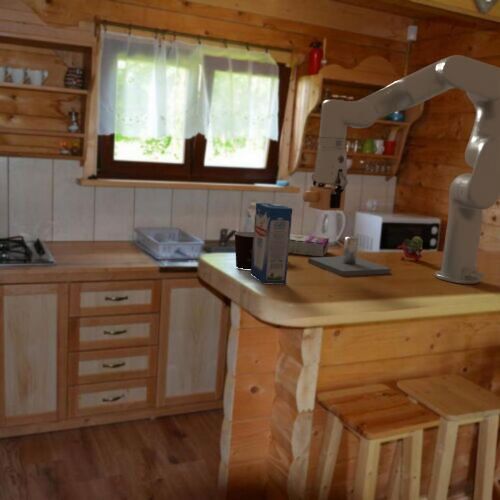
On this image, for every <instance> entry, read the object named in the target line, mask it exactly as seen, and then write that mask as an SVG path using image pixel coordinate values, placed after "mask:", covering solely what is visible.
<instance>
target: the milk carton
mask: <svg viewBox="0 0 500 500" xmlns="http://www.w3.org/2000/svg"><path fill="white" fill-rule="evenodd" d="M255 204H256V205H255V214H254V215H255V216H254V227H253V228H254V229H253V232H254V239H253V253H252V266H251V271H250V275H251V274H252V275H253V276H255V277H256V278H257V279H259V280H260V281H261V282H263V283H287V276H288V275H287V274H288V265H289V264H288V262H289V254H290V253H289V242H290V234H291V227H292V217H293V208H291V207H288V206H284V205H283V204H279V203H267V202H266V203H261V202H257V203H256V202H255ZM253 276H252V277H253ZM256 278H255V279H256ZM257 279H256V280H257ZM260 281H259V282H260ZM261 282H260V283H261ZM263 283H262V284H263Z"/></svg>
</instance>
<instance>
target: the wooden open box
mask: <svg viewBox="0 0 500 500" xmlns="http://www.w3.org/2000/svg"><path fill="white" fill-rule="evenodd" d="M346 191H347V190H346V188H345V189H344V190H343V193H342V194H341V201H340V208H330V200H331V194H333V193H332V188H331V186H325V187H314V186H310V191H309V190H308V191H306V190H305V191H303V193H302V200H303V202H304V203H309V206H308V207H309V208H311V209H315V210H319V211H344V210H345V202H346V201H345V200H346Z"/></svg>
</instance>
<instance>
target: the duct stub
mask: <svg viewBox="0 0 500 500" xmlns="http://www.w3.org/2000/svg"><path fill="white" fill-rule="evenodd" d="M358 244H359V237H356V236H350V235H349V236H348V235H347V236H346V235H345V237H344V244H343V254H342V257H343V261H342V263H344V264H349V265H354V264H356V257H357V255H358V254H357V253H358Z"/></svg>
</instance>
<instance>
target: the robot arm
mask: <svg viewBox="0 0 500 500" xmlns="http://www.w3.org/2000/svg"><path fill="white" fill-rule="evenodd" d="M451 89H459V90H461V91H463V92H466V96H467V97H468V98H469V99H468V100H470V101H471V103H472V104H473V106H474V109H475V120H474V124H473V127H472V130H471V134H470V137H469V140H468V143H467V145H466V148H465V151H464V153H465V154H464V159H465V162H466V165H468V167H470V168H472V172H466V173H463V174H460V175H458V176H457V177H455V178H454V179H453V181H452V182H451V184H450V186H449V187H450V188H449V190H448V191H449V193H448V199H449V200H448V203H449V205H448V218H447V226H446V230H445V237H444V238H445V239H444V244H443V245H444V246H443V251H442V252H443V253H442V260H441V265H440V266H441V267H440V270H437V271H435V272H434V277H435V278H437V279H440V280H441V281H447V282H449V283H457V284H464V285H465V284H466V285H467V284H468V285H472V284H473V285H474V284H477V283H480V281H481V280H482V279H484V277H485V273H482V272H478V271H479V267H477V258H478V251H479V245H480V239H481V232H482V227H483V215H484V214H483V210H488V209H490V208H491V207H493V206H495V204H496V203H497V202H498V200H499V199H500V67H499V66H495V65H492V64H489V63H486V62H484V61H480V60H477V59H474V58H471V57H468V56H466V55H461V54H454V55H450V56H447V57H445V58H442V59H440V60H438V61H436V62H433V63H431V64H429V65H428V66H425V67H423V68H420V69H418V70H417V71H414V72H413V73H411V74H409V75H406V76H404V77H402V78H400V79H398V80H396V81H394V82H393V83H390V84H389V85H387V86H385V87H383V88H382V89H380V90H377V91H375V92H373V93H371V94H369V95H367V96H365V97H363V98H361V99H359V100H351V101H346V100H342V99H325V100H324V101H322V104H321V114H320V123H319V124H320V125H319V136H318V137H319V138H318V149H317V153H316V160H315V165H314V172H313V174H312V175H311V180H312V185H313V187H326V185H330V187H331V188H332V193H333V194H331V200H330V208H340V201H341V194H342V193H343V190H344V189H345V190H346V186H347V185H348V183H349V181H348V179H347V174H348V173H347V172H348V157H347V155H348V154H347V150H346V141H347V140H346V139H347V133H348V132H347V129H348V126H349V127H351V128H353V129H366V128H370V127H371V126H372V125H373V124H374V123H376V121H377V120H379V119H381V118H383V117H385V116H388V115H391V114H394V113H396V112H400V111H405V110H409V109H410V108H414V107H416V106H417V105H420V104H422V103H424V102H426V101H428V100H431V99H432V98H435V97H436V96H439V95H441V94H443V93H445V92H447V91H449V90H451Z"/></svg>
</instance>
